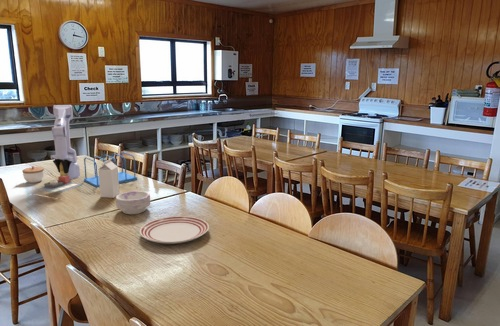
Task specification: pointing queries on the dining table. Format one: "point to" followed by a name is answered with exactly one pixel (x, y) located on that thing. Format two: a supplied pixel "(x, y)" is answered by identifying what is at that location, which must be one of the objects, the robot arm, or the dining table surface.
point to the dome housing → (53, 184)
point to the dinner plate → (174, 229)
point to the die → (64, 179)
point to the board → (61, 188)
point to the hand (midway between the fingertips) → (63, 172)
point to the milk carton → (108, 179)
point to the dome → (53, 181)
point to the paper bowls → (133, 202)
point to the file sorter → (121, 175)
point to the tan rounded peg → (62, 170)
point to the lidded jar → (33, 174)
